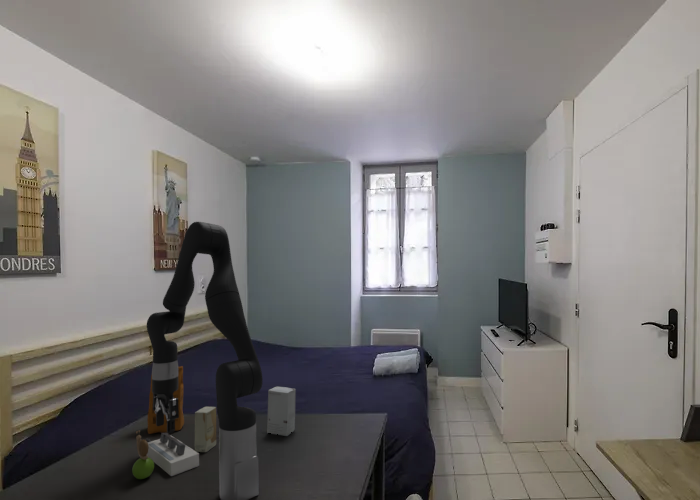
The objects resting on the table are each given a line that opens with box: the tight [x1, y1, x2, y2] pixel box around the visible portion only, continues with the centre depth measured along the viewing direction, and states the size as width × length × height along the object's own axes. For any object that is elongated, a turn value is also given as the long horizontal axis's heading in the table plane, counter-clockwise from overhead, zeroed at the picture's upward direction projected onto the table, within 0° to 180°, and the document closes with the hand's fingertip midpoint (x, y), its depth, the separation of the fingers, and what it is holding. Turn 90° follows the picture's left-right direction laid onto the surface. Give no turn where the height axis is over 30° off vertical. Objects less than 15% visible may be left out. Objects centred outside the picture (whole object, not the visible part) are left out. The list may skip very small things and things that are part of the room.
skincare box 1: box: [194, 406, 217, 453], centre depth 130 cm, size 6×4×12 cm
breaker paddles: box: [159, 432, 186, 454], centre depth 122 cm, size 14×2×2 cm, turn 46°
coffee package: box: [147, 365, 185, 435], centre depth 148 cm, size 10×12×22 cm
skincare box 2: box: [266, 386, 297, 437], centre depth 142 cm, size 8×6×15 cm
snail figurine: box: [131, 429, 155, 480], centre depth 112 cm, size 5×6×12 cm
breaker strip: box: [144, 435, 200, 477], centre depth 126 cm, size 31×8×4 cm, turn 46°
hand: (165, 428), depth 125 cm, fingers open, 8 cm apart
